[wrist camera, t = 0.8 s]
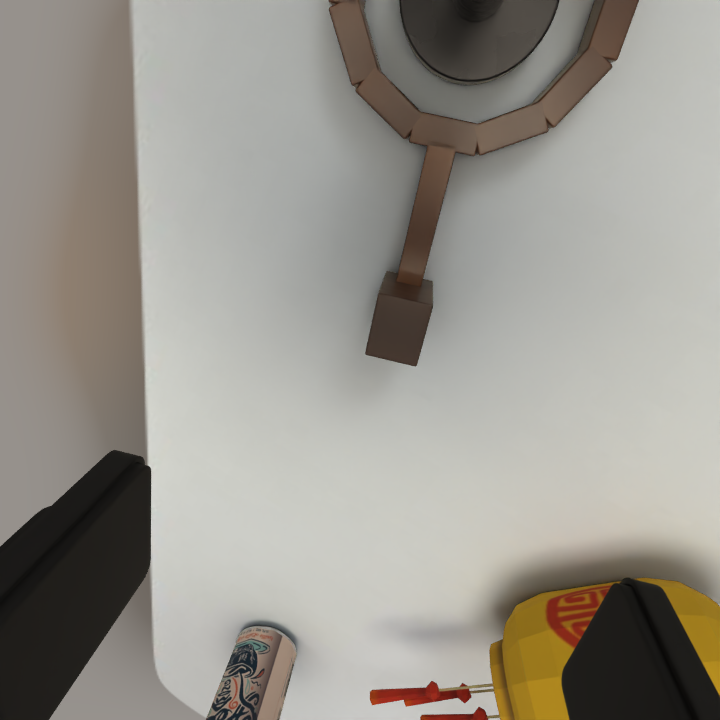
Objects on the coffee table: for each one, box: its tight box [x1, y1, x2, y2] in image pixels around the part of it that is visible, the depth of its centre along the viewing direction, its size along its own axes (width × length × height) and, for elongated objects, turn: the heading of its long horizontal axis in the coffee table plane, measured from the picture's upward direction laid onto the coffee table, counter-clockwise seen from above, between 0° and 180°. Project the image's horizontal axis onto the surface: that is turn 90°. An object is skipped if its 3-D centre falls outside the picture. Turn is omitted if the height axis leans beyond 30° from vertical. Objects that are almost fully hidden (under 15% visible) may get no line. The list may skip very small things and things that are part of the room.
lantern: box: [370, 578, 720, 720], centre depth 27 cm, size 10×10×30 cm
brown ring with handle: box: [329, 0, 639, 366], centre depth 19 cm, size 20×11×4 cm, turn 169°
